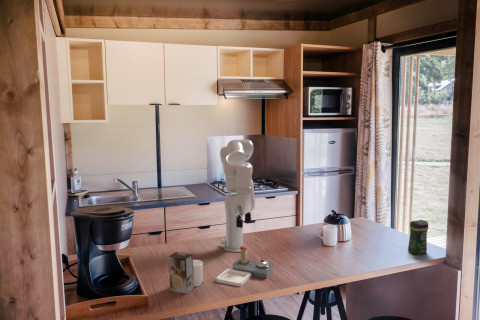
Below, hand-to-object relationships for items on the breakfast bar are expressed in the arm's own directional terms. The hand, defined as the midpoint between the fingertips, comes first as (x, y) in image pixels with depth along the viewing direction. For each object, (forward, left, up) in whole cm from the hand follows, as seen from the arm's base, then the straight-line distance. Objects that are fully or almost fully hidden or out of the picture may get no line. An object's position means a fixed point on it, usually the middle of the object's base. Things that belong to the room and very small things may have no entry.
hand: (243, 224), depth 198 cm
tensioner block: (+5, 0, -24) cm, 25 cm away
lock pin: (0, 0, -23) cm, 23 cm away
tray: (0, -11, -24) cm, 27 cm away
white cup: (-15, -21, -25) cm, 36 cm away
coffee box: (-17, -29, -25) cm, 42 cm away
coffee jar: (+77, +67, -25) cm, 105 cm away
